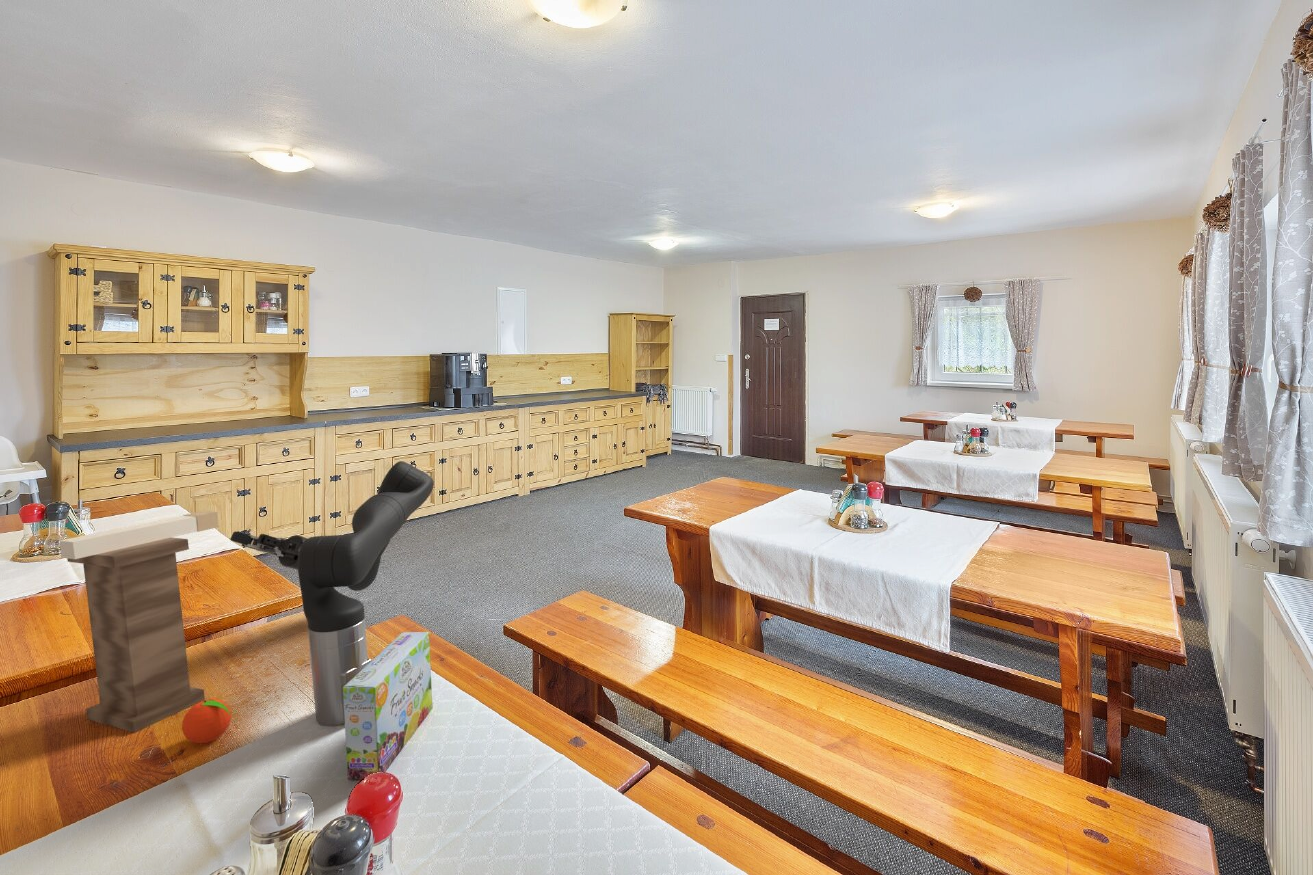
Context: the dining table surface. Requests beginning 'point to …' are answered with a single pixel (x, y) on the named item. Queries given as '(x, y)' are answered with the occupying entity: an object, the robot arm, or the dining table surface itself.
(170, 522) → the cream wooden bar
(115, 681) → the walnut pedestal
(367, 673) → the snack box
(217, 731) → the clementine
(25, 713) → the dining table surface
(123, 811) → the dining table surface
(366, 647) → the robot arm
